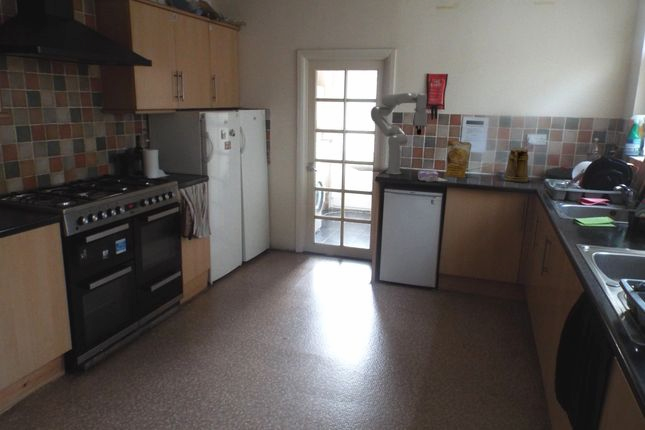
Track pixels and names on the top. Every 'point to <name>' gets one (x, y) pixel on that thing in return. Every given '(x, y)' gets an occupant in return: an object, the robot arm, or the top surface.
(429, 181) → the mat
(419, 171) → the candy box
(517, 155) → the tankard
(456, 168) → the pancake mix bag
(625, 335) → the top surface
